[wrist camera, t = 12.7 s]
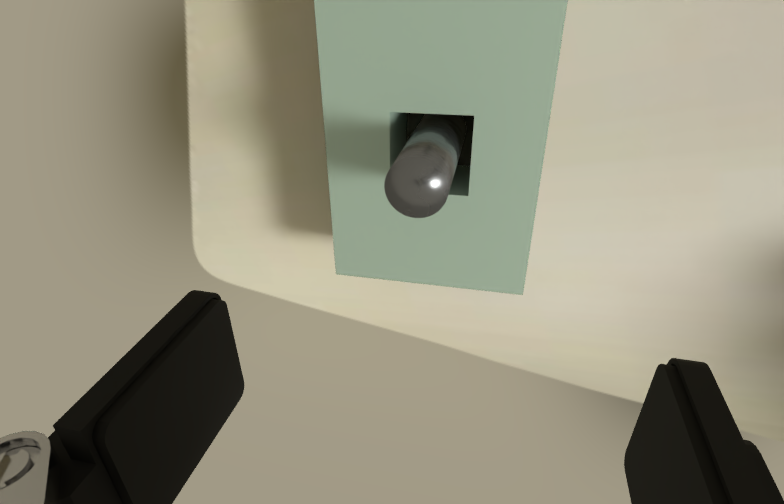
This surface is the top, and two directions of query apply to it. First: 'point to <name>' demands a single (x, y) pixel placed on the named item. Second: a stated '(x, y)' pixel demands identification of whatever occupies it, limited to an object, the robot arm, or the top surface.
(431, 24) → the green block with hole
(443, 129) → the peg
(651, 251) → the top surface
